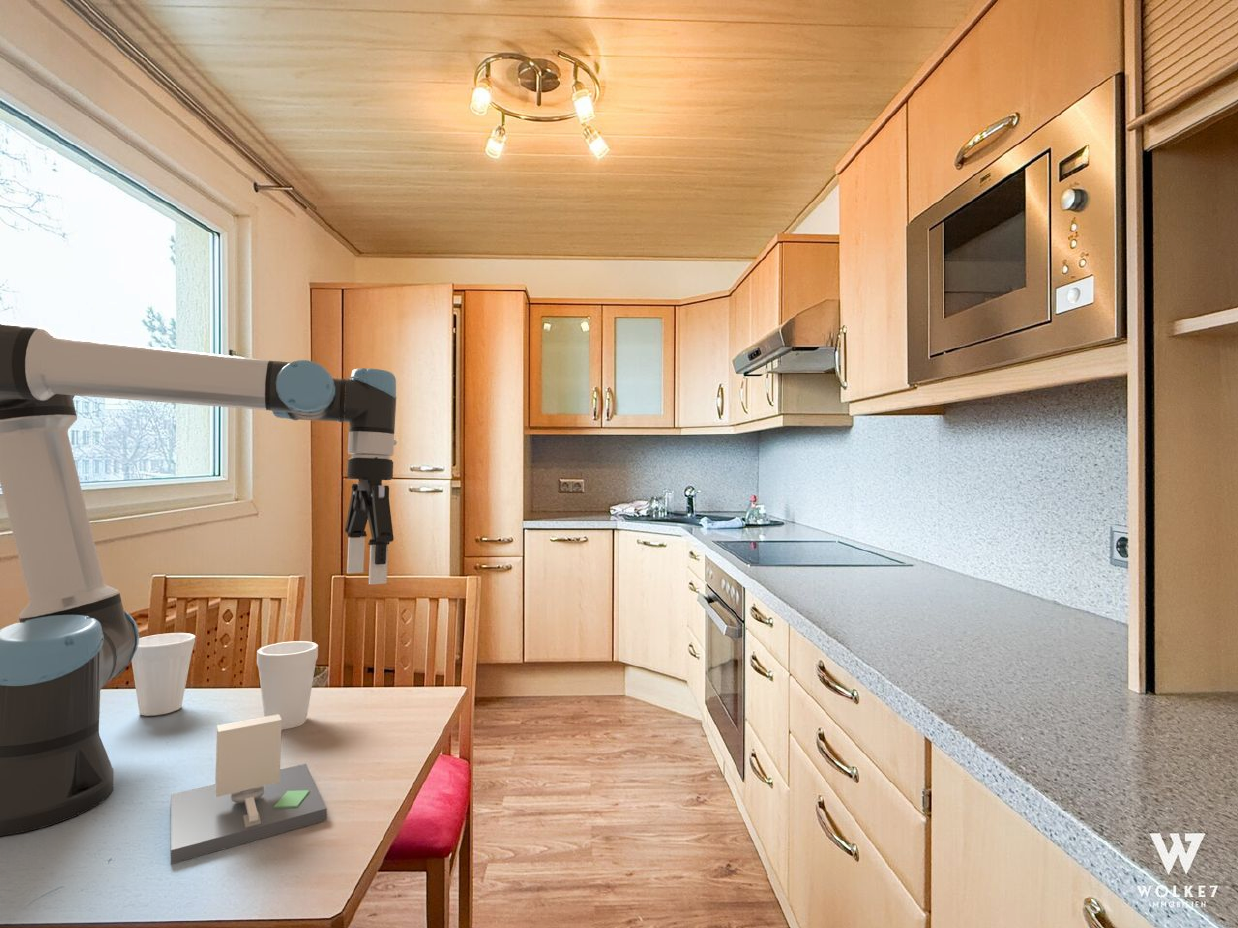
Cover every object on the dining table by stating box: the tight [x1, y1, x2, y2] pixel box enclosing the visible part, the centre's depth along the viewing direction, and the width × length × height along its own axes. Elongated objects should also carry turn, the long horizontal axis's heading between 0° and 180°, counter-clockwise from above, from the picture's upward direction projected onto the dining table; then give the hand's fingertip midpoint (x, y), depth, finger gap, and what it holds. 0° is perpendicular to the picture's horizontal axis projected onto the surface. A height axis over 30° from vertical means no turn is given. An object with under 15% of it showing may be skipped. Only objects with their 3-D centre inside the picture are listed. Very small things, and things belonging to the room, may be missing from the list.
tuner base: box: [170, 763, 328, 864], centre depth 81 cm, size 16×15×2 cm
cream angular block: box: [214, 714, 282, 822], centre depth 79 cm, size 7×9×10 cm
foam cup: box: [256, 640, 319, 731], centre depth 111 cm, size 10×9×13 cm
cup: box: [130, 632, 196, 717], centre depth 115 cm, size 10×10×13 cm
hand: (365, 578), depth 111 cm, fingers open, 13 cm apart
